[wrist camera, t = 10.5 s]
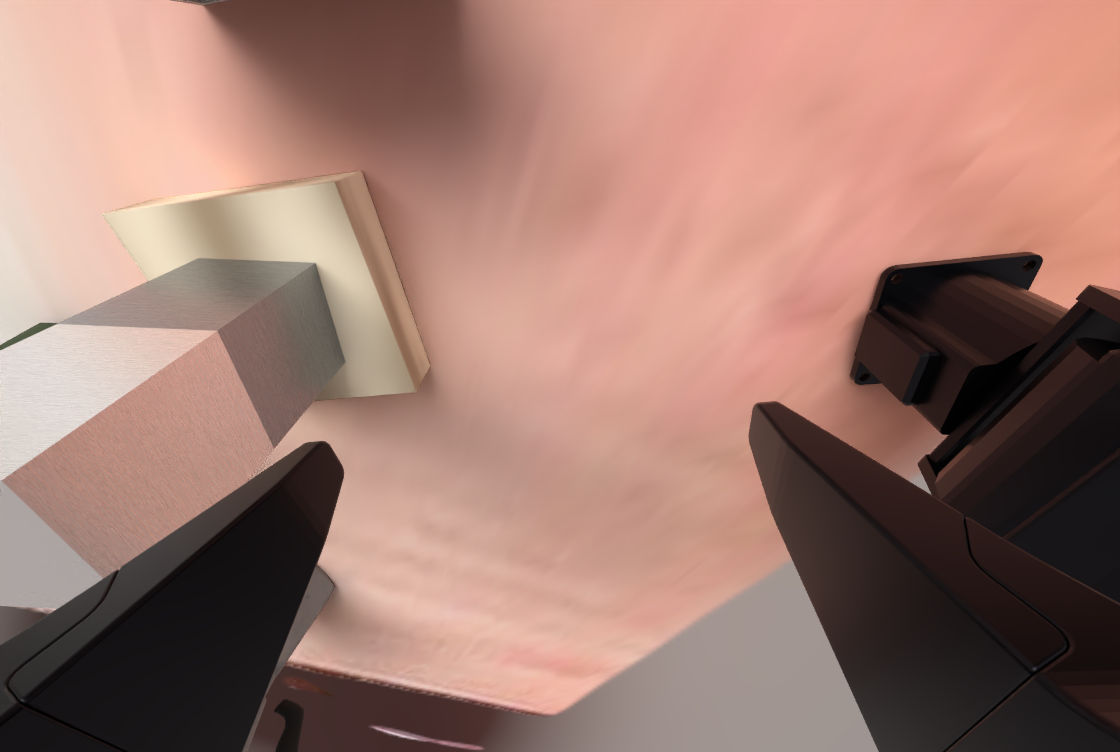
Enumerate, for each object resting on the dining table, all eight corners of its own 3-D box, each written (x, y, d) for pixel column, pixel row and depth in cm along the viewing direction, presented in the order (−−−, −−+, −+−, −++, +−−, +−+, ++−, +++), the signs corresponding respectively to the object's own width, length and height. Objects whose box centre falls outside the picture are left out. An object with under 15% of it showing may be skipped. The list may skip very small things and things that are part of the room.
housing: (315, 262, 18) (1, 480, 8) (345, 362, 21) (138, 612, 11) (198, 257, 18) (-253, 468, 8) (244, 357, 21) (-52, 602, 11)
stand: (361, 170, 18) (334, 182, 16) (430, 365, 24) (416, 392, 22) (152, 199, 19) (101, 213, 17) (264, 380, 25) (236, 407, 23)
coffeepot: (179, 558, 36) (-100, 893, 21) (239, 518, 32) (-44, 884, 18) (332, 633, 43) (202, 927, 28) (395, 606, 39) (285, 925, 24)
